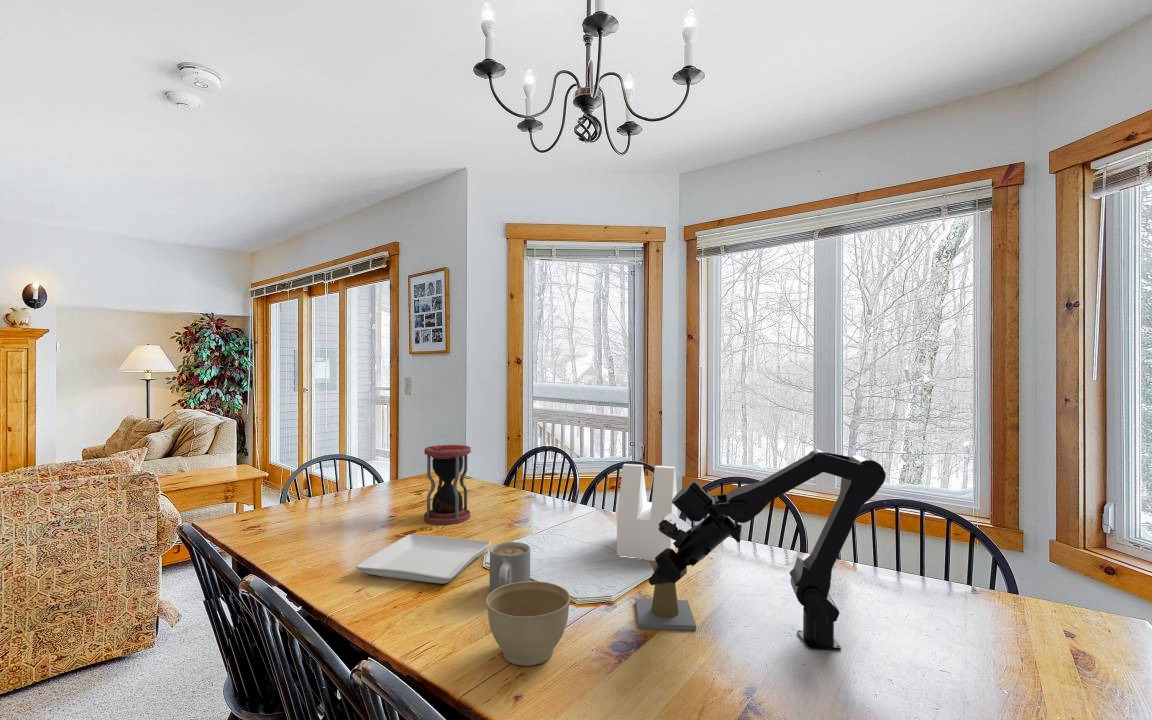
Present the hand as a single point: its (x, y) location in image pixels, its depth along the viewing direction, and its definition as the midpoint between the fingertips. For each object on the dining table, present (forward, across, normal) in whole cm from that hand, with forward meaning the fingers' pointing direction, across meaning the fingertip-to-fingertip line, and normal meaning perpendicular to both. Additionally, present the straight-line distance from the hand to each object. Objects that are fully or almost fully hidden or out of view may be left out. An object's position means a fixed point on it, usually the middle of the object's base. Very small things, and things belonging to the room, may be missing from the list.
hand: (658, 575), depth 121 cm
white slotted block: (+20, -37, -8) cm, 43 cm away
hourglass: (+72, -25, -60) cm, 97 cm away
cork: (+4, 0, +6) cm, 8 cm away
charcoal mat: (+5, 0, +7) cm, 9 cm away
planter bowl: (+16, +29, -4) cm, 33 cm away
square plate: (+53, +8, -40) cm, 66 cm away
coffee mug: (+31, +10, -19) cm, 38 cm away
